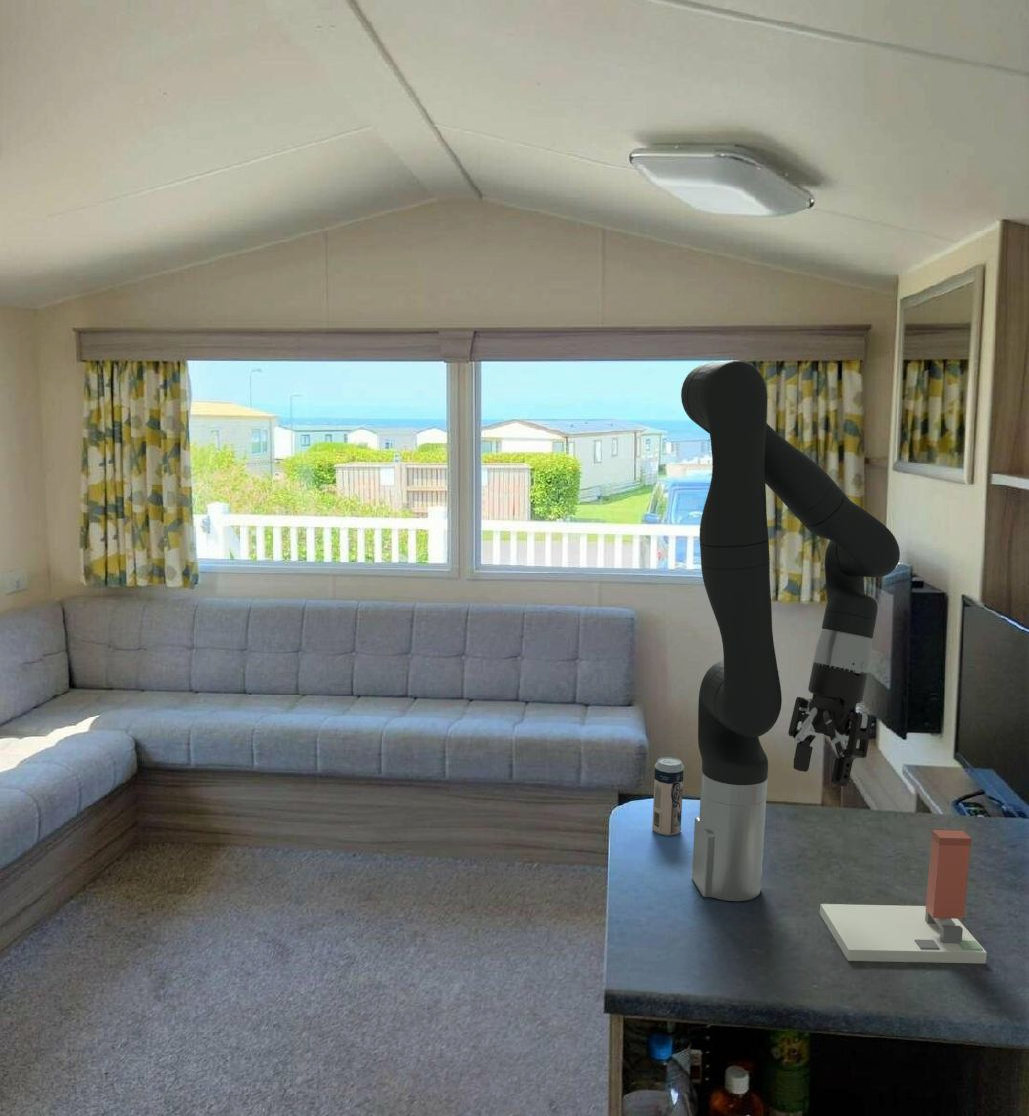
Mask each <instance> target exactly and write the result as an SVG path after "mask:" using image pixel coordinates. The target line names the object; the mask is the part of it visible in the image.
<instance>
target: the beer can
mask: <svg viewBox="0 0 1029 1116" xmlns="http://www.w3.org/2000/svg"><path fill="white" fill-rule="evenodd" d="M684 770H685V766H684V764H683V762H682V760H680V759H679V758H677V757H669V756H668V757H666V756H665V757H664V756H663V757H660V758H658V759H657V762H656V763H655V765H654V785H653V805H652V806H653V808H652V827H651V829H652V830H653V831H654V832H655V833H657V834H659V835H661V836H665V837H666V836H667V837H671V836H675V834H676V835H677V834H679V833H681V832H682V816H683V815H682V813H683V812H682V811H683V809H682V808H683V793H684V791H683V790H684Z"/></svg>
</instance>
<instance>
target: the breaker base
mask: <svg viewBox="0 0 1029 1116" xmlns="http://www.w3.org/2000/svg"><path fill="white" fill-rule="evenodd" d="M819 908H820V909H819V915H820V917H821V919H822V921H824V923H825V925H826V928H828V930H829V932H830V933H831V935H832V937H833V938H834V940H835V942H836V943H837V945H838V947H839V948H840V950H841V951H842V953H843V955H844V956H845V959H846V960H847V961H848V962H849V961H850V962H885V963H886V962H888V963H889V962H890V963H891V962H893V963H896V962H897V963H935V964H937V963H941V964H942V963H943V964H946V963H947V964H948V963H949V964H984V965H985V964H987V954H988V952H987V951H986V950H985V949H984V947H983V946H982V945H981V944H980V943H979V941H978V940H977V939H976V938H975V937H974V936H973V935H972V934H971V933H970V931H969V930H968V929H967V928H966V927H965V925H963V923H962V921H960V919H951V920H952V921H953V922H954V923H955V925H956V926H945V925H942V926H941V928H940V927H939V926H938V924H937V923H936V922H935V921H934V919H933V918H932V917H931V915H930V914H929V913H928V912H927V910H926V905H894V904H893V905H891V904H889V905H887V904H885V905H884V904H846V903H845V904H841V903H836V904H835V903H820V907H819Z"/></svg>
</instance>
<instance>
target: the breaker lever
mask: <svg viewBox="0 0 1029 1116" xmlns="http://www.w3.org/2000/svg"><path fill="white" fill-rule="evenodd" d="M931 831H932V832H931V842H930V853H929V854H930V855H929V863H928V864H929V865H928V866H929V867H928V876H927V888H926V889H927V890H926V898H925V899H926V900H925V906H926V910H927V912H928V913H929V914H930V915H931V917H932V918H933V919H934V921H935V922H936V923H937V924H938V926H939V927H940V928H941V926H942V925H945V926H956V925H955V923H954V922H953V921H952V920H951V919H958V920H960V919H961V920H962V919H964V918H965V909H966V897H967V888H968V887H967V886H968V875H969V868H970V867H969V865H970V854H971V842H972V838H971V837H970V836H969V835H968V834H967V833H966V832H965V831H964V830H946V829H945V830H942V829H941V830H940V829H939V830H938V829H932V830H931Z"/></svg>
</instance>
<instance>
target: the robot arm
mask: <svg viewBox="0 0 1029 1116" xmlns="http://www.w3.org/2000/svg"><path fill="white" fill-rule="evenodd" d="M680 391H681V393H680V400H681V404H682V407H683V410H684V412H685V414H686V415H687V416H688V418H689V419H690V420H691V421H692V422H693V423H695V425H698V426H699V427H700V428H701V429H703V431H705V432H706V433H708V435H709V439H710V448H711V461H712V462H711V463H712V465H711V466H712V467H711V479H710V484H709V488H708V492H707V495H706V499H705V502H704V506H703V508H702V509H703V510H702V514H701V518H700V523H699V549H700V550H699V552H700V568H701V574H702V575H701V576H702V580H703V585H704V588H705V592H706V594H707V598H708V601H709V604H710V606H711V609H712V612H713V616H714V618H715V620H716V623H717V626H718V629H719V633H720V636H721V643H722V651H723V660H719V661H718V662H715V663H714V664H712V666H710V667H709V668H708V670H707V671H706V672H705V673H704V676H703V677H702V681H701V683H700V687H699V693H698V703H697V704H698V705H697V706H698V708H697V709H698V710H697V713H698V714H697V744H698V750H699V754H700V757H701V781H700V782H701V783H700V799H699V800H700V801H699V816H696V817H695V818H694V831H693V848H692V849H693V850H692V851H693V852H692V867H691V869H692V871H691V872H692V873H691V880H692V881H693V883H694V884H695V886H696V887H697V889H698V890H699V892H700V894H701V895H702V897H703V898H714V899H717V900H722V901H725V902H726V901H727V902H728V901H729V902H744V901H750V900H753V899H755V898H757V897H758V896H759V895H760V893H761V891H762V890H761V888H762V881H763V880H762V879H763V873H762V872H763V858H764V857H763V856H764V844H765V843H764V842H765V841H764V840H765V827H766V826H765V825H766V824H765V823H766V809H767V808H766V807H767V806H766V805H767V791H768V790H767V789H768V775H769V760H768V757H767V754H766V753H765V751H764V749H763V746H762V744H761V741H760V738H759V737H762V736H763V735H765V734H767V733H769V731H770V730H771V729H772V728H774V725H775V724H776V723H777V721H778V719H779V717H780V715H781V714H780V713H781V709H782V703H783V701H782V700H783V699H782V698H783V697H782V688H781V687H782V686H781V680H780V675H779V670H778V668H779V667H778V664H777V663H778V662H777V656H776V650H775V649H776V648H775V643H774V633H773V612H772V610H773V609H772V597H771V596H772V593H771V571H770V567H771V566H770V565H771V563H770V562H771V559H770V541H769V540H770V539H769V538H770V537H769V529H768V515H767V511H768V510H767V508H768V507H767V487H766V485H767V486H768V488H769V489H770V490H771V491H772V492H773V493H774V494H775V495H776V496H777V497H778V499H780V501H781V502H782V503H783V504H784V505H785V506H786V508H788V509H789V511H790V512H791V513H792V515H794V516H795V518H796V519H797V520H798V521H800V523H801V524H802V525H803V527H805V529H807V530H808V531H809V532H810V533H812V534H813V535H814V536H817V537H819V538H823V539H826V540H829V541H828V544H827V546H826V549H825V552H824V553H825V554H824V575H825V577H824V578H825V579H824V581H825V592H826V593H825V594H826V605H825V610H824V614H823V620H822V623H821V625H822V626H821V629H820V633H819V637H818V639H817V642H816V647H815V651H814V657H813V661H812V665H811V671H810V678H809V683H808V686H807V687H808V689H807V690H808V692H809V693H810V694H812V698H808V697H801V696H797V697H796V699H795V702H794V707H793V709H792V710H793V711H792V715H791V719H790V724H789V727H788V733H787V734H788V736H789V737H792V738H793V739H794V741H795V743H796V747H795V751H794V753H795V754H794V757H793V767H792V768H793V769H794V770H795V771H799V772H807V773H808V771H809V768H810V763H811V757H812V755H813V754H812V753H813V750H814V749H813V748H814V747H813V744H814V743H815V742H816V740H818V738H820V737H823V736H826V737H829V739H830V741H831V743H833V745H834V747H835V751H836V754H837V755H836V756H835V760H834V765H833V771H832V776H831V781H830V782H831V783H832V785H835V786H839V787H846V786H847V785H848V783H849V781H850V778H851V775H852V774H851V773H852V768H853V763H854V761H855V760H857V759H865V758H866V757H867V756H868V749H869V743H870V736H871V735H870V734H871V730H872V729H871V728H872V722H873V718H872V715H871V714H867V713H865V712H864V713H863V712H857V710H856V709H857V704H860V703H862V702H863V701H864V695H865V689H866V684H867V678H868V674H869V669H870V665H871V664H870V663H871V660H872V659H871V658H872V649H873V647H872V645H873V637H874V633H875V628H876V623H877V615H878V606H879V605H878V602H877V600H876V599H874V598H873V597H872V596H870V595H868V594H866V593H865V584H864V583H865V578H882V577H886V576H888V575H890V574H891V573H892V572H894V571H895V569H896V568H897V567H898V565H899V561H900V557H901V552H900V546H899V543H898V540H897V539H896V537H895V535H894V534H893V533H892V531H891V530H890V529H889V528H888V527H887V526H886V525H885V524H884V523H883V522H881V521H880V520H879V519H878V518H876V517H875V516H874V515H872V514H870V513H869V512H868V511H867V510H865V509H864V508H862V507H861V506H859V504H857V503H855V502H853V501H852V500H851V499H850V498H849V497H848V496H847V495H846V493H845V492H844V491H843V490H842V488H841V487H840V486H839V485H838V484H837V483H836V482H835V481H834V480H833V478H831V476H830V475H829V474H828V473H827V472H826V471H825V470H824V469H823V468H822V467H821V466H820V465H819V464H817V463H816V462H815V461H814V460H813V459H812V458H811V457H810V456H808V455H807V454H806V453H804V452H803V451H801V450H800V449H799V448H797V447H796V446H794V445H793V444H792V443H790V442H788V441H787V440H786V438H784V437H783V436H781V435H780V434H779V433H778V432H777V431H776V430H774V428H772V427H771V425H769V424H768V423H767V420H768V419H767V418H768V390H767V386H766V382H765V379H764V378H763V375H762V374H761V372H760V371H759V370H758V369H757V368H756V367H755V366H754V365H753V364H751V363H749V362H747V361H745V360H744V361H743V360H739V359H734V360H721V361H710V362H707V363H704V364H700V365H698V366H697V367H695V368H693V369H692V370H691V371H690V372H689V373H688V374H687V375H686V377H685V378H684V381H683V382H682V386H681V390H680ZM800 722H801V725H800V727H799V728H800V729H798V726H799V723H800ZM858 740H859V743H858ZM857 743H858V747H857Z"/></svg>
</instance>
